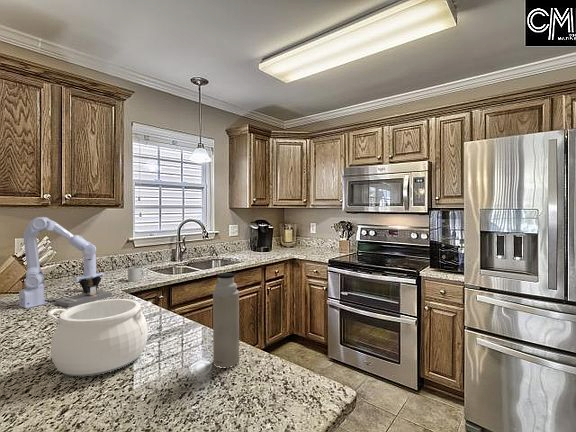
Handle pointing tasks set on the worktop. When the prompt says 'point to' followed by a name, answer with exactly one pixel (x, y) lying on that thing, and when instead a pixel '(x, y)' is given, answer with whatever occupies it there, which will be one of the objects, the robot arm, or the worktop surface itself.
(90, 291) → the fader tab
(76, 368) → the pot
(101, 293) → the console board
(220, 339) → the thermos bottle
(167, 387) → the worktop surface
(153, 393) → the worktop surface
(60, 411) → the worktop surface
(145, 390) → the worktop surface
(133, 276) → the cup
